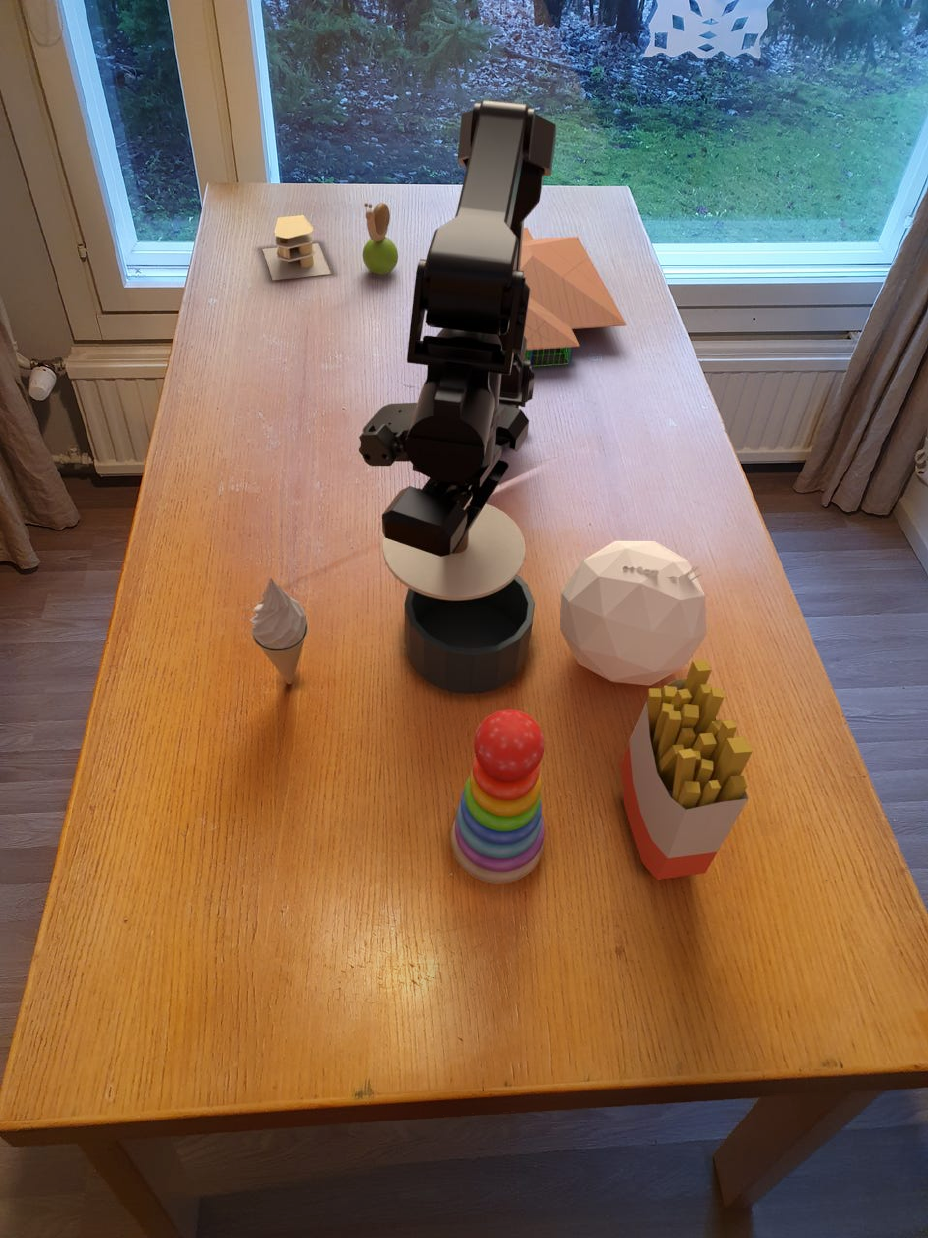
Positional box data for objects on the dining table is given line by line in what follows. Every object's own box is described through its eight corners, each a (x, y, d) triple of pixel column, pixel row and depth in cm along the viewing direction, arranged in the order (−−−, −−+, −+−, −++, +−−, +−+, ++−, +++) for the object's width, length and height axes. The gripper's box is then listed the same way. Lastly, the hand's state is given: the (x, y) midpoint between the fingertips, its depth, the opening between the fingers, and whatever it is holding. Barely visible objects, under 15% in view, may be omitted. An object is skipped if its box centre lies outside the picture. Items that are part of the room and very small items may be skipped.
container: (478, 582, 96) (482, 540, 91) (552, 657, 90) (560, 615, 85) (382, 632, 91) (380, 590, 86) (453, 715, 84) (456, 675, 80)
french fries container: (646, 893, 74) (699, 783, 60) (611, 779, 81) (652, 657, 67) (698, 886, 74) (763, 775, 61) (660, 773, 81) (710, 652, 68)
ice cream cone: (274, 711, 84) (251, 607, 72) (256, 672, 87) (231, 566, 75) (324, 692, 85) (309, 587, 74) (305, 655, 88) (288, 548, 77)
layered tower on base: (262, 248, 141) (257, 214, 136) (318, 243, 143) (315, 209, 138) (272, 280, 135) (268, 245, 130) (331, 274, 137) (328, 239, 132)
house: (570, 248, 145) (577, 198, 139) (631, 362, 124) (643, 309, 118) (432, 255, 142) (433, 203, 136) (472, 374, 121) (475, 320, 115)
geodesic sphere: (711, 555, 92) (654, 476, 82) (764, 663, 82) (708, 590, 73) (587, 623, 97) (519, 557, 87) (624, 732, 88) (553, 673, 78)
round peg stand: (468, 488, 91) (471, 444, 87) (553, 566, 84) (561, 523, 80) (355, 538, 85) (352, 493, 81) (436, 627, 78) (437, 583, 74)
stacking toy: (455, 797, 79) (464, 670, 64) (544, 807, 78) (574, 682, 64) (444, 881, 74) (452, 763, 59) (540, 893, 73) (571, 776, 59)
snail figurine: (354, 279, 136) (350, 200, 127) (372, 260, 140) (370, 182, 131) (386, 287, 135) (384, 208, 126) (404, 268, 139) (403, 190, 130)
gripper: (423, 323, 79) (421, 461, 91) (318, 437, 68) (331, 578, 80) (539, 355, 77) (521, 493, 89) (450, 479, 65) (444, 619, 77)
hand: (455, 541), depth 84 cm, fingers closed on round peg stand, 2 cm apart
